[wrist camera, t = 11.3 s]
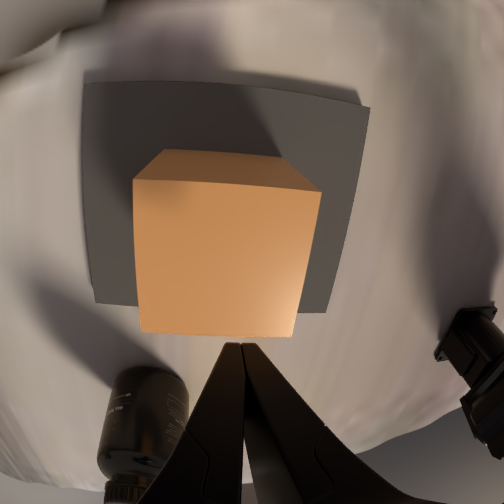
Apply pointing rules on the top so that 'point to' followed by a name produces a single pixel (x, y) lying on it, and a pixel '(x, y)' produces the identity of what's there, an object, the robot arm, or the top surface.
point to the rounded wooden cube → (221, 243)
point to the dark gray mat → (218, 140)
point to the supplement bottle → (140, 431)
